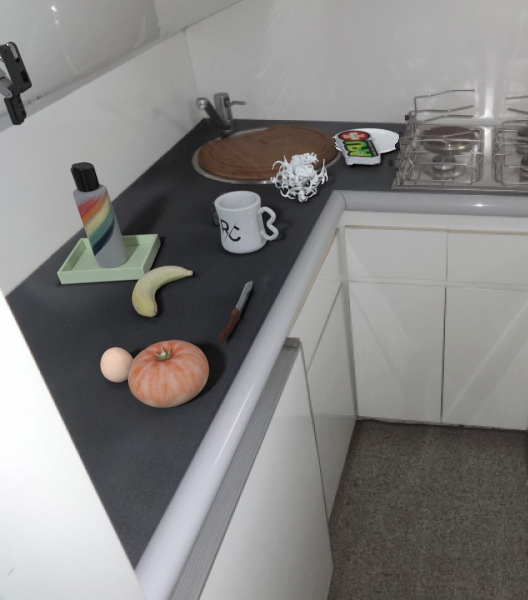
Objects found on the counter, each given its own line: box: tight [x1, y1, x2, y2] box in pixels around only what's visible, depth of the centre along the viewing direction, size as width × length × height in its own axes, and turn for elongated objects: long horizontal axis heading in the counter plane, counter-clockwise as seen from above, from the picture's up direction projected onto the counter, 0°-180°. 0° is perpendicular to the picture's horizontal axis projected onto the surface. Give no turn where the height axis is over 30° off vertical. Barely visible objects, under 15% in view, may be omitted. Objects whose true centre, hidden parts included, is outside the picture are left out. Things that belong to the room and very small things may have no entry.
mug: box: [213, 190, 279, 255], centre depth 117 cm, size 12×9×10 cm
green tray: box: [56, 233, 162, 285], centre depth 114 cm, size 15×13×2 cm
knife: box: [218, 280, 254, 344], centre depth 99 cm, size 18×2×3 cm, turn 177°
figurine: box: [270, 152, 329, 203], centre depth 137 cm, size 13×15×12 cm
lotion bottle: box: [69, 161, 128, 268], centre depth 108 cm, size 6×6×20 cm
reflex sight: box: [210, 191, 230, 226], centre depth 130 cm, size 4×10×5 cm, turn 8°
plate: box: [332, 127, 400, 155], centre depth 167 cm, size 21×21×1 cm
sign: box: [335, 129, 381, 166], centre depth 158 cm, size 22×2×10 cm
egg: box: [100, 346, 134, 383], centre depth 85 cm, size 4×4×6 cm
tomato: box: [127, 339, 210, 409], centre depth 82 cm, size 11×11×8 cm
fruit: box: [131, 265, 194, 318], centre depth 104 cm, size 7×15×3 cm, turn 172°
